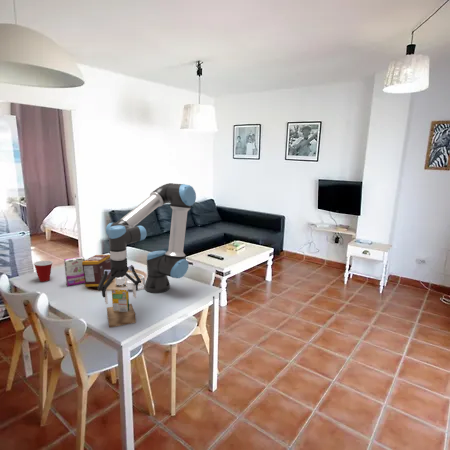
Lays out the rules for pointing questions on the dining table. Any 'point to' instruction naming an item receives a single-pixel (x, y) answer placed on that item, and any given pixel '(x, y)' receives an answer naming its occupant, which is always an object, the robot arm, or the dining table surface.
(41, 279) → the plastic cup
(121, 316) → the walnut block
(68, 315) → the dining table surface
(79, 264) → the candy bar box
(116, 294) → the crayon box
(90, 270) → the supplement box
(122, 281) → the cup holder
